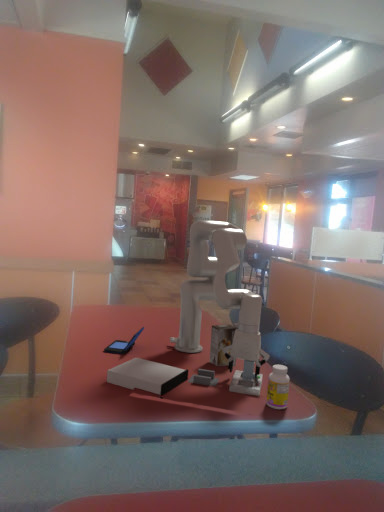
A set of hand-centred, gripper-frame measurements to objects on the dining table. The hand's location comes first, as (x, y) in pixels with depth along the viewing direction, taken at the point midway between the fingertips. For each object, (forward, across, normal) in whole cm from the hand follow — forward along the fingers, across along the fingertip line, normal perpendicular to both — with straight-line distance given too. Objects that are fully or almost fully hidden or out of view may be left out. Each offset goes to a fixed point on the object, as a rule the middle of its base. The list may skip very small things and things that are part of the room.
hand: (243, 373), depth 152 cm
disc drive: (+5, -31, -15) cm, 35 cm away
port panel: (+3, +2, -4) cm, 6 cm away
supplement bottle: (+3, +13, -15) cm, 20 cm away
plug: (+3, +2, 0) cm, 4 cm away
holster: (+4, -13, -7) cm, 15 cm away
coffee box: (+4, -11, +15) cm, 19 cm away
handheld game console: (+6, -54, +16) cm, 57 cm away
